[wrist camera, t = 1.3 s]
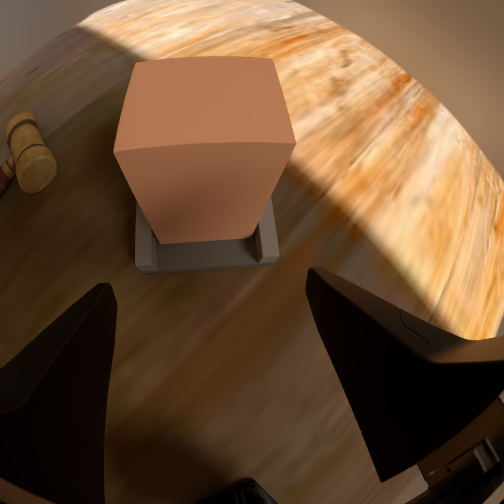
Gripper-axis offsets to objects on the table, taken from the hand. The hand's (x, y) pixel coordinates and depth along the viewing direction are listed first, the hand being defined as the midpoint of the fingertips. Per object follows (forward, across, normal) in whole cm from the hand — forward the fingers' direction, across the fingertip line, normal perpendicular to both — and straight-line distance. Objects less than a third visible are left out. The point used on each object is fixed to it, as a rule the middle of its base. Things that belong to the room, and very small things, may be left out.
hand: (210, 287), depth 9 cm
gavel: (+18, +26, +1) cm, 32 cm away
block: (+14, 0, +2) cm, 14 cm away
